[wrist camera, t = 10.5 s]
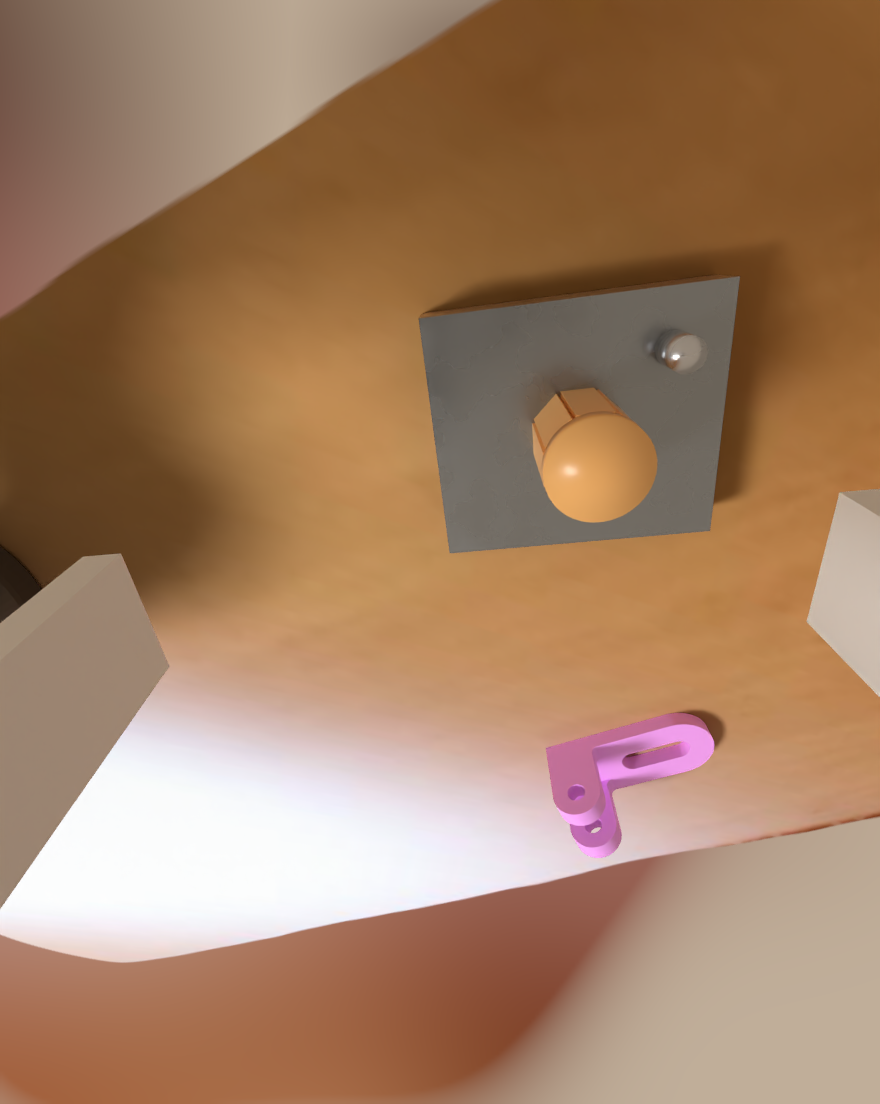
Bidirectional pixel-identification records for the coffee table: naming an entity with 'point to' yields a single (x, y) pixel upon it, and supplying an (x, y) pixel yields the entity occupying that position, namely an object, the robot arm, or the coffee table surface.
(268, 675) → the coffee table surface
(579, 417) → the orange faceted knob
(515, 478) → the block
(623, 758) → the bracket
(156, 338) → the coffee table surface
